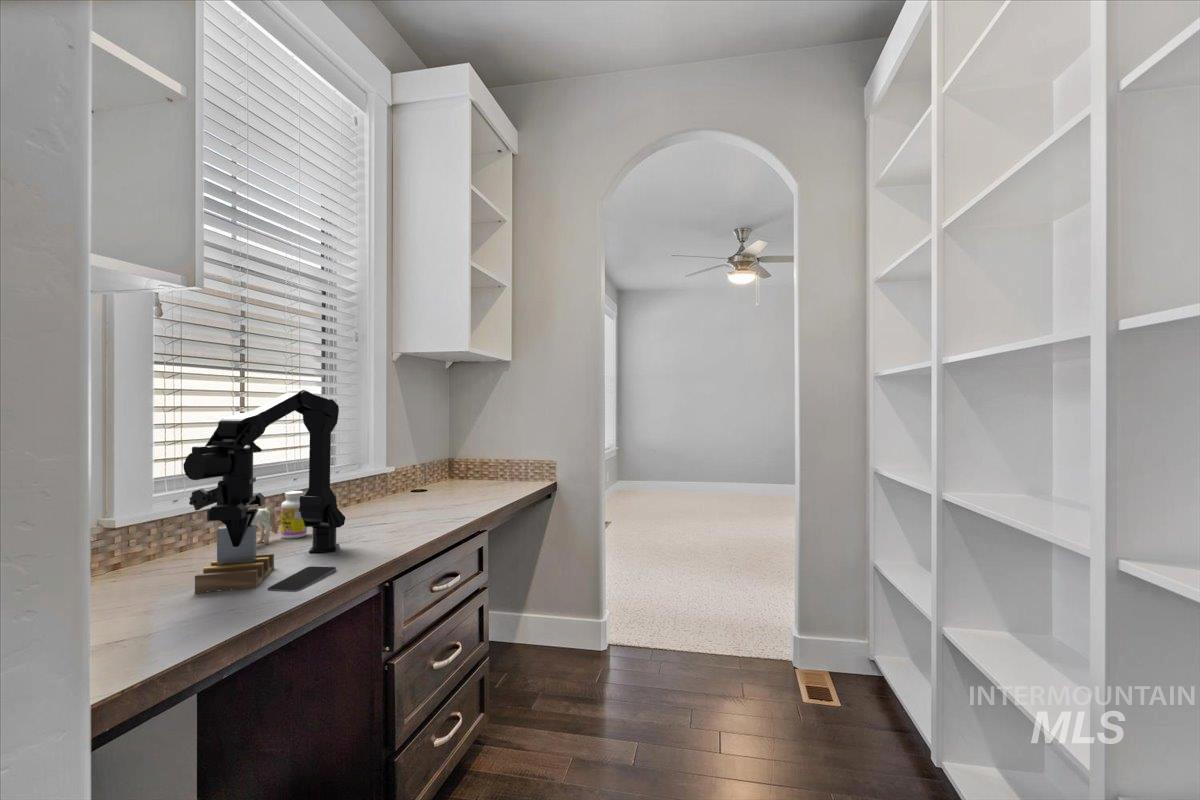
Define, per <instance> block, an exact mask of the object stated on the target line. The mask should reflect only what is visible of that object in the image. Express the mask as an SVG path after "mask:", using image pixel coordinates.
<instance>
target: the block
mask: <svg viewBox="0 0 1200 800" xmlns="http://www.w3.org/2000/svg"><path fill="white" fill-rule="evenodd" d="M256 554H257V526H256V525H247V527H246V529H245V532H244V535H243V537H242V540H241V542H240V545H239V546H238V547H233V545H232V542H231V539H230V536H229V533H228V530H227V528H226V526H220V527H218V528H216V561H217V566H221V565H234V564H248V563H254V562H255V561H256Z"/></svg>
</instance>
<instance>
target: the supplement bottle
mask: <svg viewBox="0 0 1200 800" xmlns="http://www.w3.org/2000/svg"><path fill="white" fill-rule="evenodd" d="M300 496H304V491H303V490H292V491H291V490H290V491H287V492H284V497H285V501H283V502H282V503H281V504H280V506H281V507H280V537H281V538H283V539H289V540H290V539H299V538H302V537H305V536H307V532H308V527H305V525H304V522H303V518H301V513H300V512H299V508H300V501H299V499H300Z"/></svg>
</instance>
